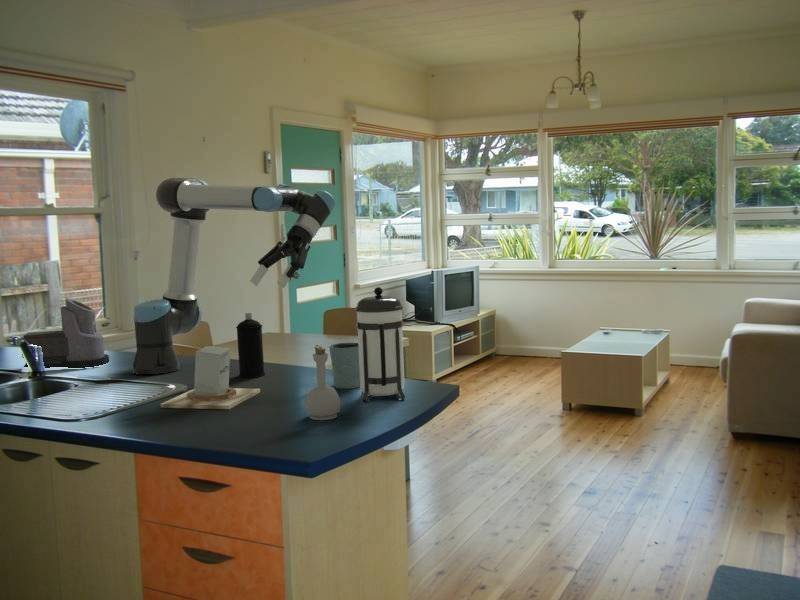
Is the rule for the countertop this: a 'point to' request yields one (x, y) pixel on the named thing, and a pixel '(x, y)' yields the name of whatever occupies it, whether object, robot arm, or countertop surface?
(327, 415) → the potion bottle
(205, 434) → the countertop surface
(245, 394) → the collar board
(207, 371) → the supplement box
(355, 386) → the teal cup
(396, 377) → the coffee press
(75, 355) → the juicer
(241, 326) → the aerosol can
